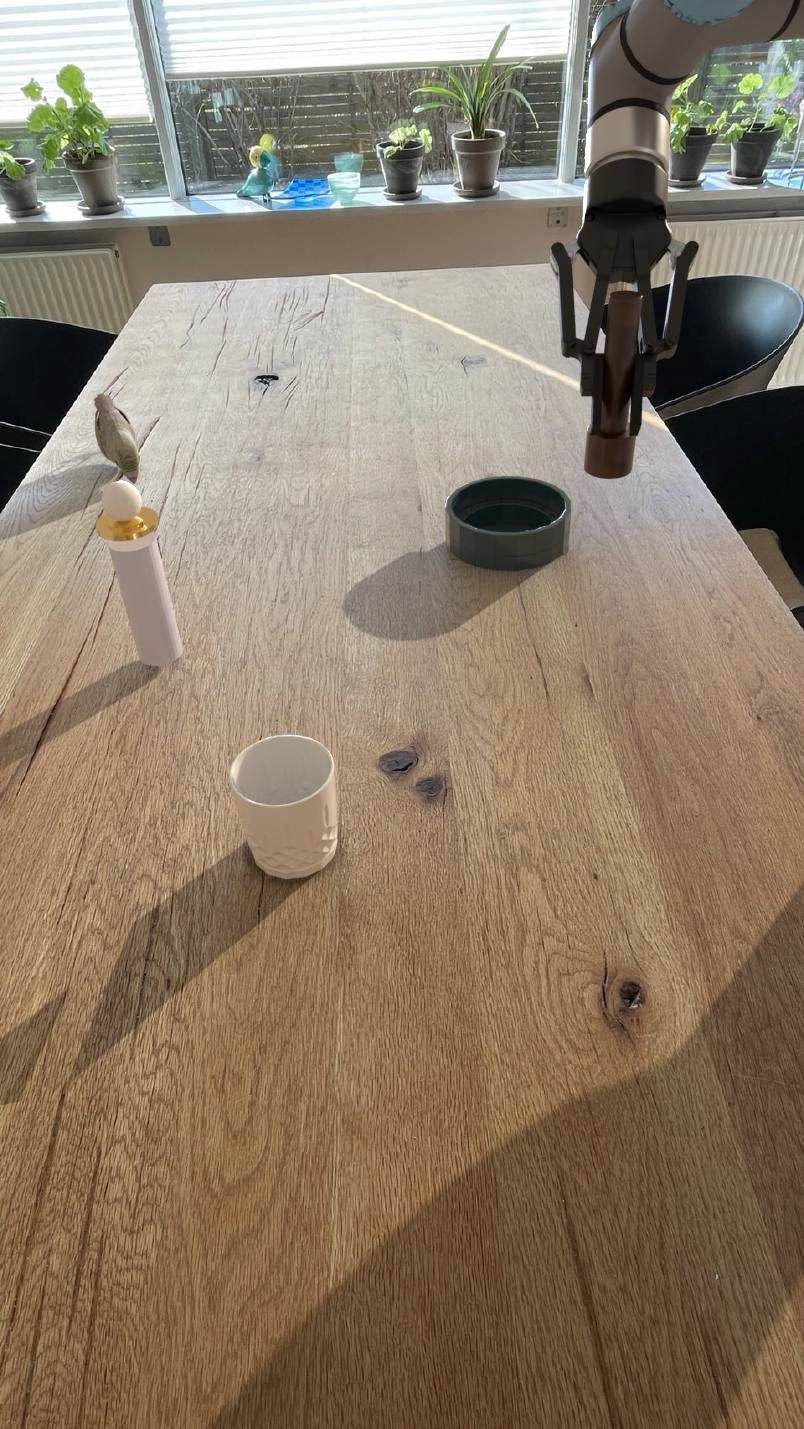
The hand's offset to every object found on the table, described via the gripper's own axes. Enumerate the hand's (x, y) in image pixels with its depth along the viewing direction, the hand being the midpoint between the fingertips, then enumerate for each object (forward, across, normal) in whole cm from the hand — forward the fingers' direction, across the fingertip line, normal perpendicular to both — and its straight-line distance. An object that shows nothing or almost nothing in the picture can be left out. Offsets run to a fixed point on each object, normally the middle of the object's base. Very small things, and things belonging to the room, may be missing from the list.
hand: (615, 429), depth 85 cm
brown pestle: (+1, 0, -7) cm, 7 cm away
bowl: (+4, +10, -28) cm, 30 cm away
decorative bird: (-11, +66, -44) cm, 80 cm away
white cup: (+39, +25, +8) cm, 47 cm away
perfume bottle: (+21, +45, -11) cm, 51 cm away
